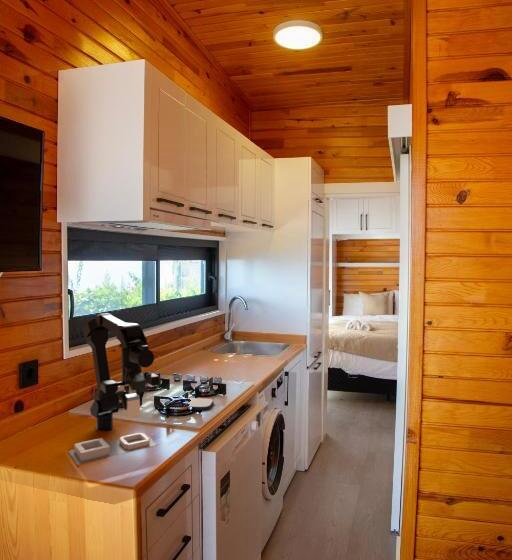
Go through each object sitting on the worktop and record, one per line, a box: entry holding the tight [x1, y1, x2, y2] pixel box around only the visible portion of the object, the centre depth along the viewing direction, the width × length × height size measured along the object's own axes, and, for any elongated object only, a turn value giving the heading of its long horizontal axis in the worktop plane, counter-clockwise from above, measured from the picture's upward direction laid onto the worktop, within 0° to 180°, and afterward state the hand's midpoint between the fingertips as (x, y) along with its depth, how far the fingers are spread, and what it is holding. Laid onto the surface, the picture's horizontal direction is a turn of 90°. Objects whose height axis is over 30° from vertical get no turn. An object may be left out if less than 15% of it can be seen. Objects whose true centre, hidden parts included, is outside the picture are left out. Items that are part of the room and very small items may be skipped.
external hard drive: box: [187, 397, 214, 412], centre depth 207 cm, size 24×12×2 cm, turn 84°
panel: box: [67, 432, 159, 468], centre depth 161 cm, size 12×26×4 cm, turn 123°
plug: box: [123, 392, 141, 420], centre depth 164 cm, size 4×4×7 cm
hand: (131, 408), depth 164 cm, fingers closed on plug, 4 cm apart
